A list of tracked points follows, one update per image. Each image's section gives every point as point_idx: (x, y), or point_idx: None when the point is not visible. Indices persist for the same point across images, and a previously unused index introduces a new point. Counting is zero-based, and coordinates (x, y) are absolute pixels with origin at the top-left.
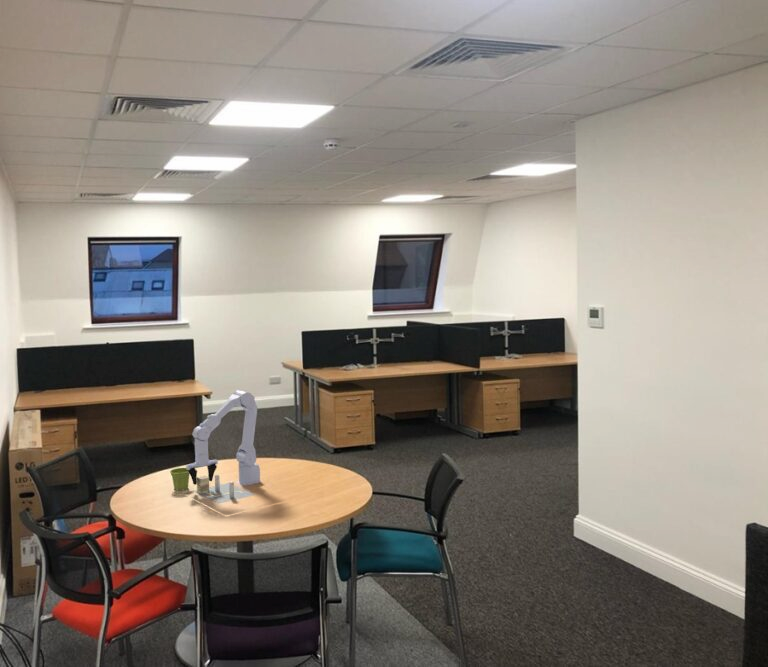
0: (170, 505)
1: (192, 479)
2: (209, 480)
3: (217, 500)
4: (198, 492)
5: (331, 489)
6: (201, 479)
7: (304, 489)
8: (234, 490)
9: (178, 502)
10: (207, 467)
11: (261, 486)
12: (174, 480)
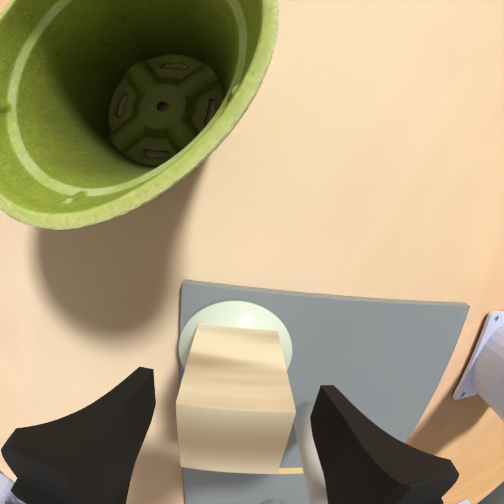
0: (8, 379)
1: (116, 393)
2: (317, 398)
3: (199, 497)
4: (184, 363)
5: (471, 494)
6: (188, 463)
7: (463, 484)
8: None
9: (39, 380)
10: (381, 471)
11: (471, 422)
12: (47, 111)
